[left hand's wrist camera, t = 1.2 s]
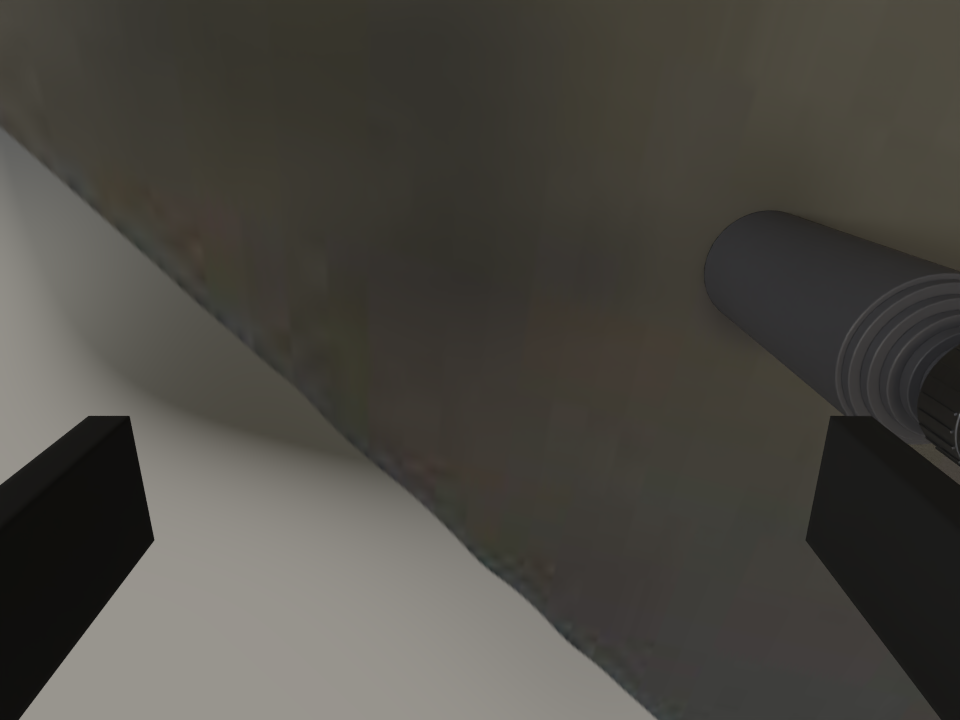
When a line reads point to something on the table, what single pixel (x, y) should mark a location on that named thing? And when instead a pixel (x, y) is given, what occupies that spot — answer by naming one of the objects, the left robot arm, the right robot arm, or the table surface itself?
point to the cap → (942, 405)
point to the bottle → (838, 312)
